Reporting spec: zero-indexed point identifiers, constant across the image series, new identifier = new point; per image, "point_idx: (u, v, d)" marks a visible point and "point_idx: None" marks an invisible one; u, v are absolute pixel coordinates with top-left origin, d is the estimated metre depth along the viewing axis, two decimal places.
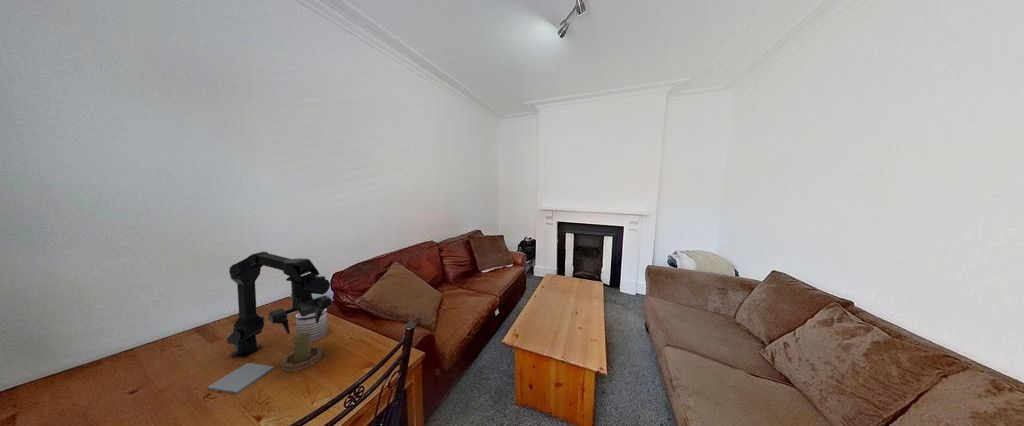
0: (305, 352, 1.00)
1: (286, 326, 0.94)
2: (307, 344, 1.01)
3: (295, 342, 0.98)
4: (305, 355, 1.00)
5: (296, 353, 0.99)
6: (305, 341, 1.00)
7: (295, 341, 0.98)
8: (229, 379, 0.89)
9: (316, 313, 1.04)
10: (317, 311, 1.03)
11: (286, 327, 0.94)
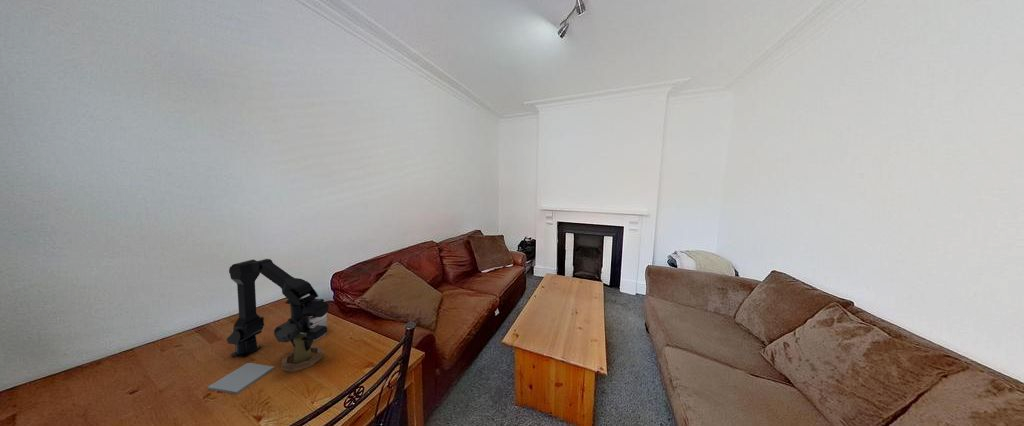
0: (305, 352, 1.00)
1: (292, 342, 1.00)
2: None
3: (295, 342, 0.98)
4: (305, 355, 1.00)
5: (296, 353, 0.99)
6: None
7: (295, 341, 0.98)
8: (229, 379, 0.89)
9: None
10: None
11: (292, 343, 1.00)
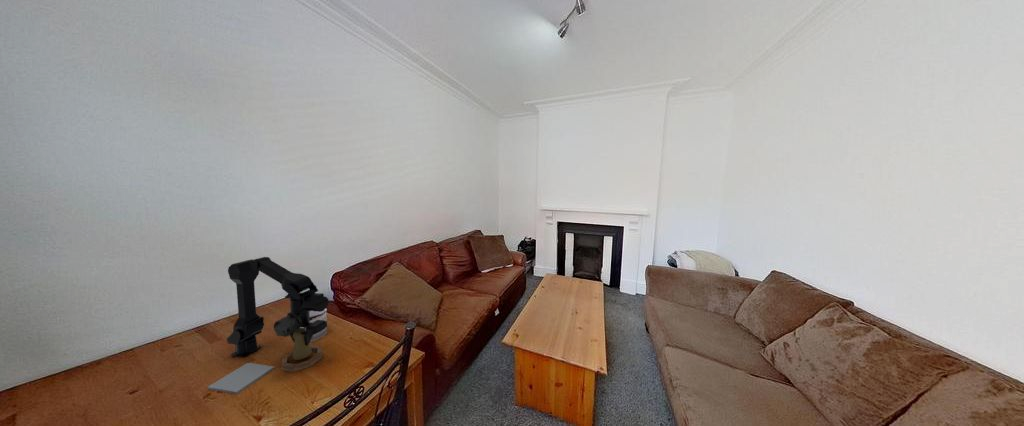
0: (305, 346, 1.00)
1: (291, 336, 0.99)
2: None
3: (295, 336, 0.98)
4: (305, 350, 1.00)
5: (295, 348, 0.98)
6: None
7: (295, 335, 0.98)
8: (229, 379, 0.89)
9: None
10: None
11: (291, 337, 1.00)
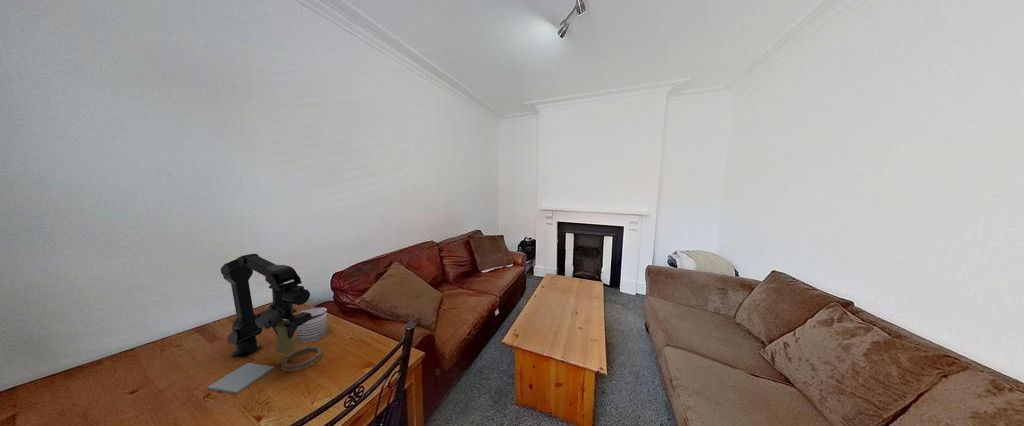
0: (288, 339, 0.96)
1: (274, 329, 0.96)
2: None
3: (277, 329, 0.94)
4: (288, 343, 0.96)
5: (278, 341, 0.95)
6: None
7: (277, 328, 0.94)
8: (229, 379, 0.89)
9: None
10: None
11: (274, 330, 0.96)
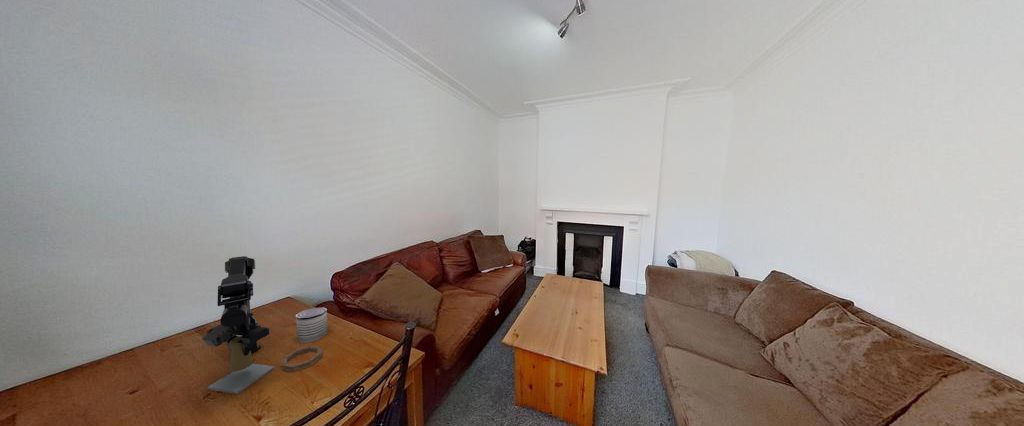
0: (243, 356, 0.89)
1: (228, 345, 0.89)
2: None
3: (230, 346, 0.87)
4: (244, 360, 0.89)
5: (232, 358, 0.88)
6: None
7: (230, 345, 0.87)
8: (229, 379, 0.89)
9: None
10: None
11: (228, 346, 0.89)
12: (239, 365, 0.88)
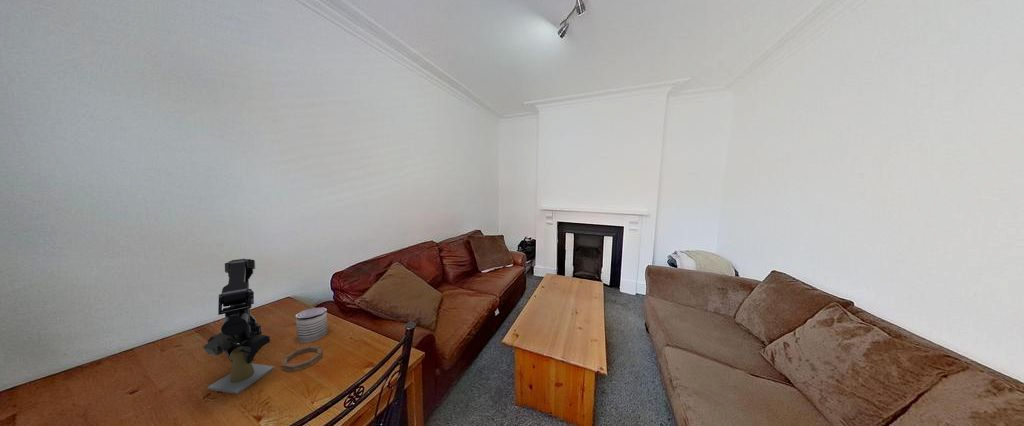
0: (244, 367, 0.89)
1: (226, 353, 0.89)
2: None
3: (231, 357, 0.87)
4: (244, 371, 0.89)
5: (232, 369, 0.88)
6: (244, 355, 0.89)
7: (231, 356, 0.87)
8: (229, 379, 0.89)
9: None
10: None
11: (227, 354, 0.89)
12: (240, 376, 0.89)
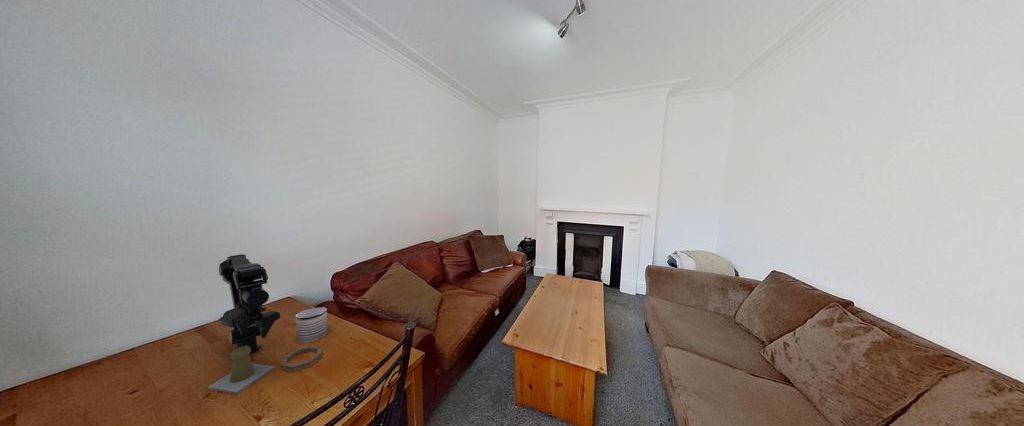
0: (244, 367, 0.89)
1: (237, 326, 0.95)
2: (247, 359, 0.90)
3: (231, 357, 0.87)
4: (244, 371, 0.89)
5: (233, 369, 0.88)
6: (244, 355, 0.89)
7: (231, 356, 0.88)
8: (229, 379, 0.89)
9: None
10: None
11: (238, 327, 0.95)
12: (240, 376, 0.89)
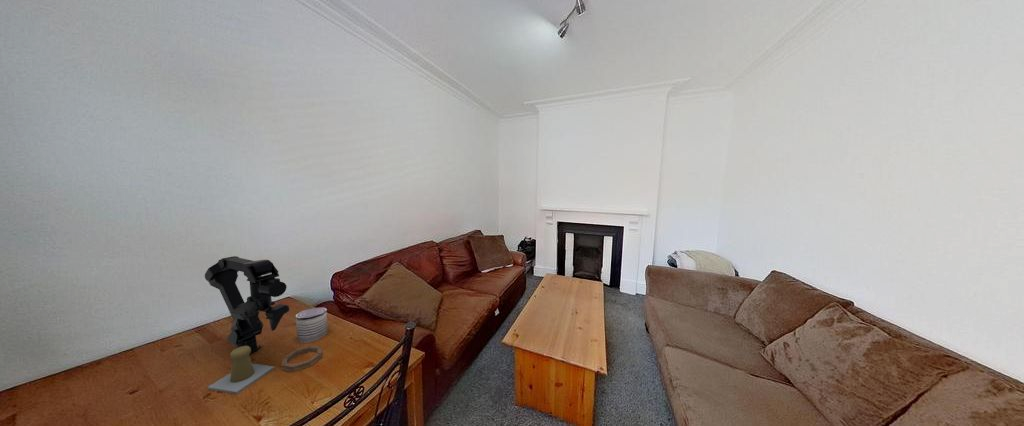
0: (244, 367, 0.89)
1: (248, 320, 0.99)
2: (247, 359, 0.90)
3: (231, 357, 0.87)
4: (244, 371, 0.89)
5: (233, 369, 0.88)
6: (244, 355, 0.89)
7: (231, 356, 0.88)
8: (229, 379, 0.89)
9: None
10: None
11: (248, 321, 0.99)
12: (240, 376, 0.89)
